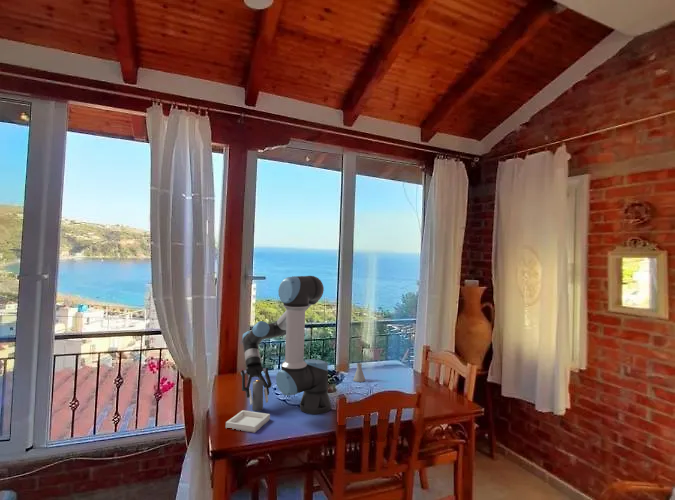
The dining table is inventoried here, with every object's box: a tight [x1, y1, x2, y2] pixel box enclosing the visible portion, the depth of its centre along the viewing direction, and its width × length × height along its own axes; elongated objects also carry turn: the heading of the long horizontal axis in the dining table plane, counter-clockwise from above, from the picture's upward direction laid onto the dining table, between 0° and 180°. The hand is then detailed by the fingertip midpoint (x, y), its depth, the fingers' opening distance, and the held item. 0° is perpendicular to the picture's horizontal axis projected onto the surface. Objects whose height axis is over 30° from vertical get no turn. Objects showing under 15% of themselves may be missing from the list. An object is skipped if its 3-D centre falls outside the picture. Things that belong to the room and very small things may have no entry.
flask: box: [352, 362, 366, 383], centre depth 239 cm, size 7×7×10 cm
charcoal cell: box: [251, 379, 264, 412], centre depth 194 cm, size 5×5×14 cm
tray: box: [225, 409, 271, 434], centre depth 178 cm, size 14×14×2 cm
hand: (259, 402), depth 191 cm, fingers open, 7 cm apart
